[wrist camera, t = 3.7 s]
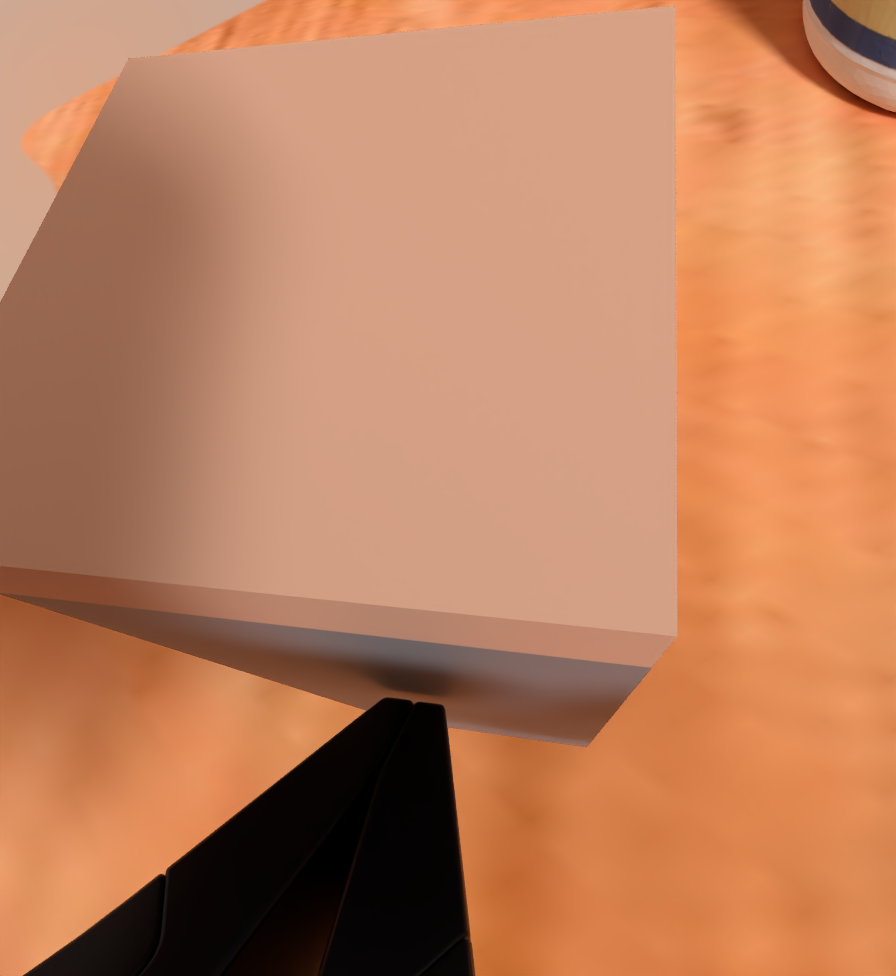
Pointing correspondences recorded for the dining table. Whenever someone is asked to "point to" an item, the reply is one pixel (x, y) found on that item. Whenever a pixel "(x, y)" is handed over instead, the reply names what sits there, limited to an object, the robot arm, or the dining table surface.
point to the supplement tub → (856, 45)
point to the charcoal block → (365, 368)
